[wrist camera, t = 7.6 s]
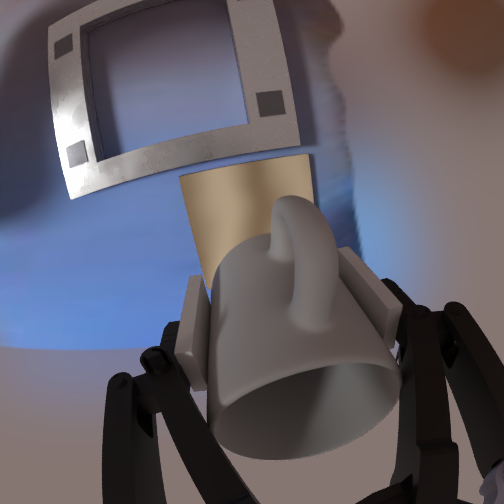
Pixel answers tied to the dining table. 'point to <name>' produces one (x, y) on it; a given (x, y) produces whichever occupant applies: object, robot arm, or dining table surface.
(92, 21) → the grey square frame
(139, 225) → the dining table surface
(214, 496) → the robot arm
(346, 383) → the mug
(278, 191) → the coaster
